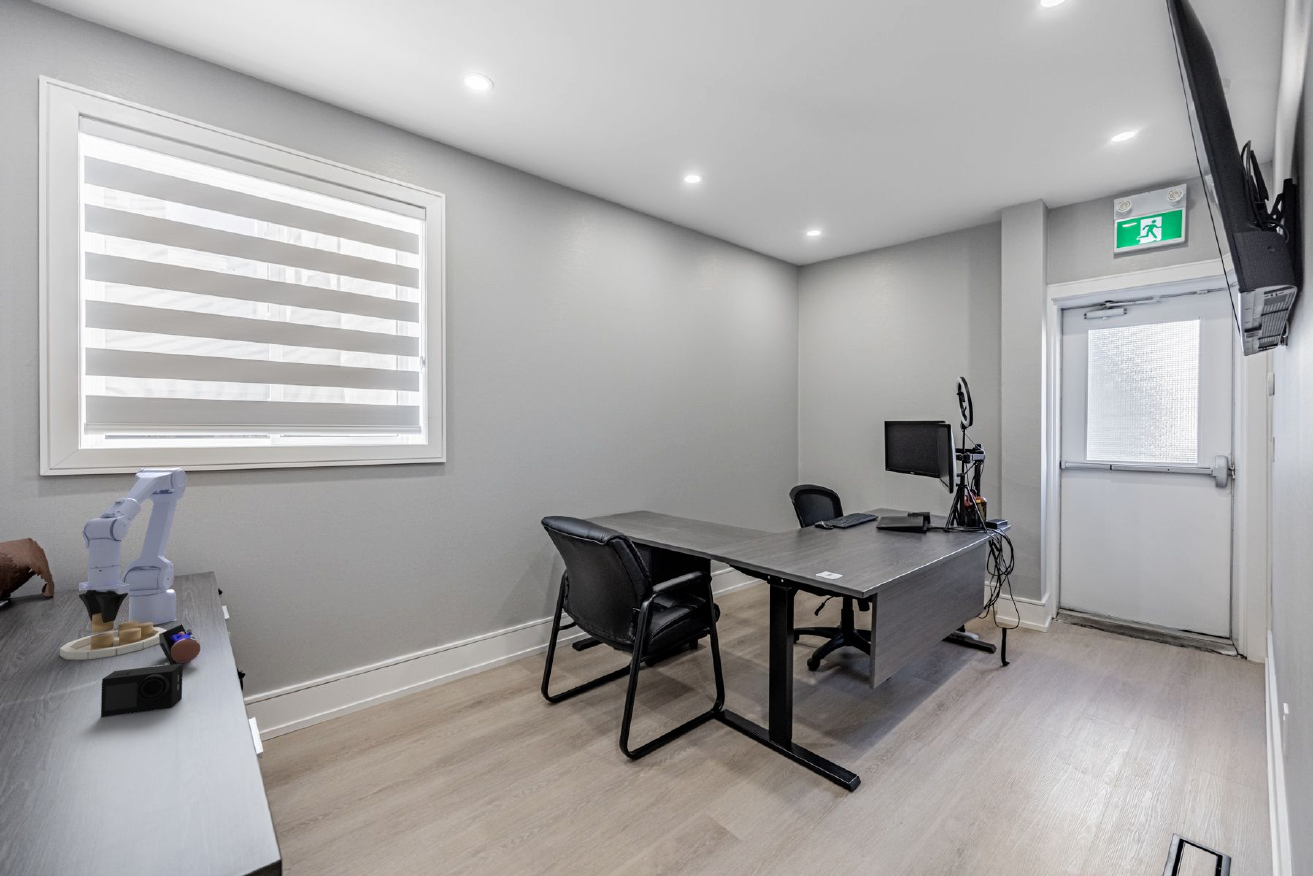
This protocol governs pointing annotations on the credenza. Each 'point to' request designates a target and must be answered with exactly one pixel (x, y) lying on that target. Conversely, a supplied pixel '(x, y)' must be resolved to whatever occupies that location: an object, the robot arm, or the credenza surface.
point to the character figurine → (179, 645)
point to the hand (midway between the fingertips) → (102, 621)
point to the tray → (83, 646)
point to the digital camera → (141, 689)
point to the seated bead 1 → (102, 641)
